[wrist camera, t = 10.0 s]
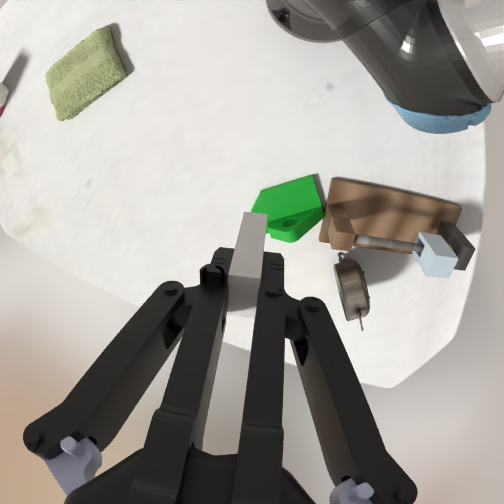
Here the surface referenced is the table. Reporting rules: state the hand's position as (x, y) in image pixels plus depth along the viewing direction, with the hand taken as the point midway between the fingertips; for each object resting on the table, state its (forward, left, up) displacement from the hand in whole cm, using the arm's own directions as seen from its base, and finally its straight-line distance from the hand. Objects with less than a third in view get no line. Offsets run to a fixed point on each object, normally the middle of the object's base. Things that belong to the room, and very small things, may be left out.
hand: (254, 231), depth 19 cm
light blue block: (+11, +29, -22) cm, 38 cm away
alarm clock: (+23, +18, -30) cm, 42 cm away
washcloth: (-13, -35, -30) cm, 48 cm away
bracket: (+11, +4, -30) cm, 32 cm away
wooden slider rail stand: (+11, +25, -29) cm, 40 cm away
